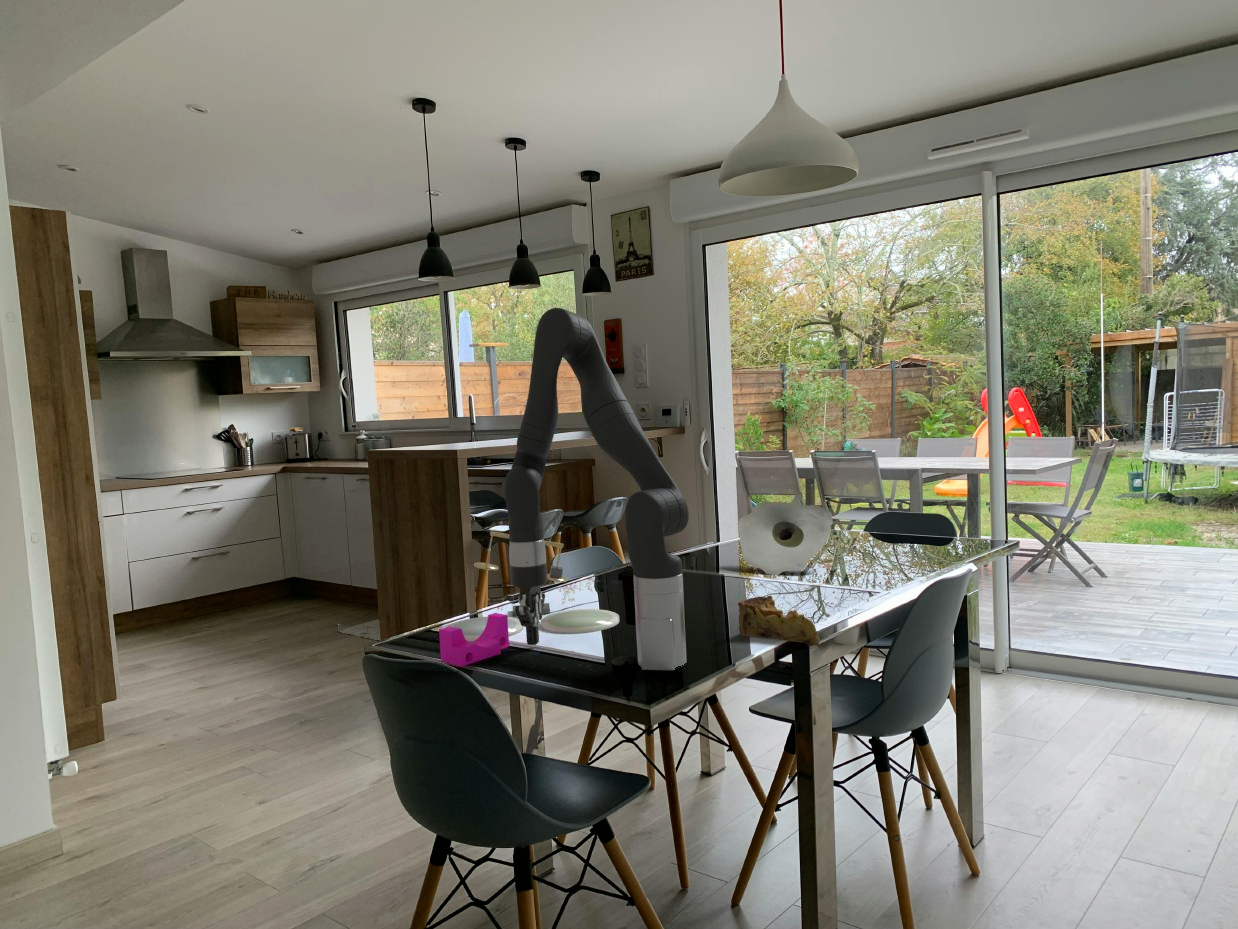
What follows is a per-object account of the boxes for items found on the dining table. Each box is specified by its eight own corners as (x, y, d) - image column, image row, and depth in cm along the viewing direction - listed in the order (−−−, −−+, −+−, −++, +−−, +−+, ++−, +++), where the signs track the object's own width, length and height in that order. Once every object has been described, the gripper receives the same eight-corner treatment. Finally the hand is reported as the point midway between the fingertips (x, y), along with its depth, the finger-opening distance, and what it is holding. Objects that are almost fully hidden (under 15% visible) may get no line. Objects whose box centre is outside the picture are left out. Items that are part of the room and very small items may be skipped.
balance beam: (474, 563, 216) (481, 526, 216) (566, 578, 219) (573, 542, 218) (473, 567, 210) (480, 529, 210) (567, 583, 213) (574, 546, 212)
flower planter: (817, 602, 254) (724, 577, 265) (844, 510, 264) (753, 490, 275) (813, 584, 240) (715, 558, 251) (842, 488, 251) (747, 467, 262)
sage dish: (609, 635, 191) (608, 629, 191) (530, 634, 195) (530, 628, 195) (626, 614, 208) (626, 609, 208) (554, 613, 212) (554, 608, 212)
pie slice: (735, 638, 184) (733, 601, 183) (768, 628, 190) (766, 592, 190) (802, 656, 170) (800, 615, 169) (835, 644, 176) (834, 605, 175)
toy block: (461, 671, 172) (459, 633, 171) (441, 666, 176) (439, 629, 175) (517, 651, 183) (515, 616, 182) (497, 647, 187) (495, 612, 186)
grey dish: (507, 643, 189) (507, 637, 188) (430, 642, 193) (429, 636, 193) (534, 621, 206) (533, 616, 206) (462, 621, 210) (462, 615, 210)
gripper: (535, 567, 174) (540, 653, 175) (554, 555, 187) (559, 635, 188) (499, 568, 175) (505, 653, 177) (521, 555, 188) (526, 635, 190)
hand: (533, 643), depth 182 cm, fingers closed
